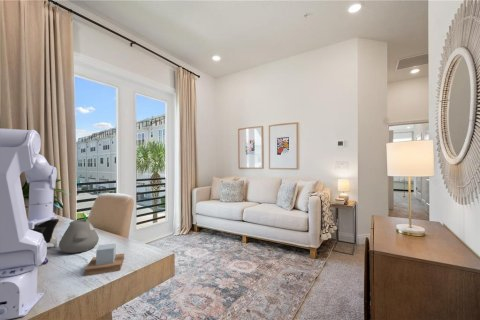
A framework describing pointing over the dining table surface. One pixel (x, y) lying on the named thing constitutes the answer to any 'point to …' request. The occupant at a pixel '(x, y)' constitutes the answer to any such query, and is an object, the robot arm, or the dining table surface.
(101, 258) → the slate cube
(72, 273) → the dining table surface
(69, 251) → the toy
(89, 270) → the walnut base
